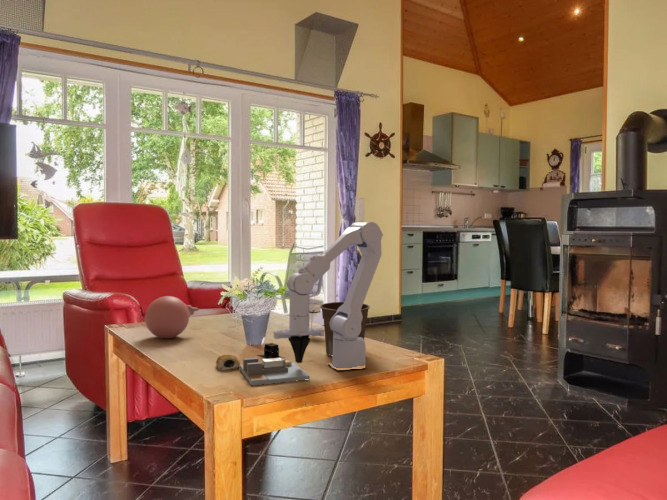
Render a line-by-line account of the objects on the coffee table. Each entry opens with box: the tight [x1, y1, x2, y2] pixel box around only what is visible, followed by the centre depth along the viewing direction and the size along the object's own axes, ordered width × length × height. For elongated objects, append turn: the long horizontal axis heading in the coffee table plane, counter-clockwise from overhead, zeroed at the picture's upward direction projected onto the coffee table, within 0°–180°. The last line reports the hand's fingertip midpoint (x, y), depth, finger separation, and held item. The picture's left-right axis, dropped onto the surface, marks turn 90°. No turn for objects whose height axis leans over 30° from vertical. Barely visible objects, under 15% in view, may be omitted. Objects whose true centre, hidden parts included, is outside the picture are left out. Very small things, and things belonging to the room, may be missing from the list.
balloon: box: [144, 295, 199, 339], centre depth 194 cm, size 15×20×15 cm
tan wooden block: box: [261, 357, 286, 369], centre depth 148 cm, size 6×3×3 cm, turn 111°
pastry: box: [215, 354, 241, 371], centre depth 157 cm, size 9×7×4 cm
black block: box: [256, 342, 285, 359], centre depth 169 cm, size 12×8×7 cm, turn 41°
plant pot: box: [320, 301, 371, 355], centre depth 173 cm, size 16×16×16 cm
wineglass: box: [309, 302, 322, 328], centre depth 202 cm, size 7×7×12 cm
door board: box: [239, 357, 310, 386], centre depth 148 cm, size 16×16×4 cm
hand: (298, 362), depth 151 cm, fingers closed
